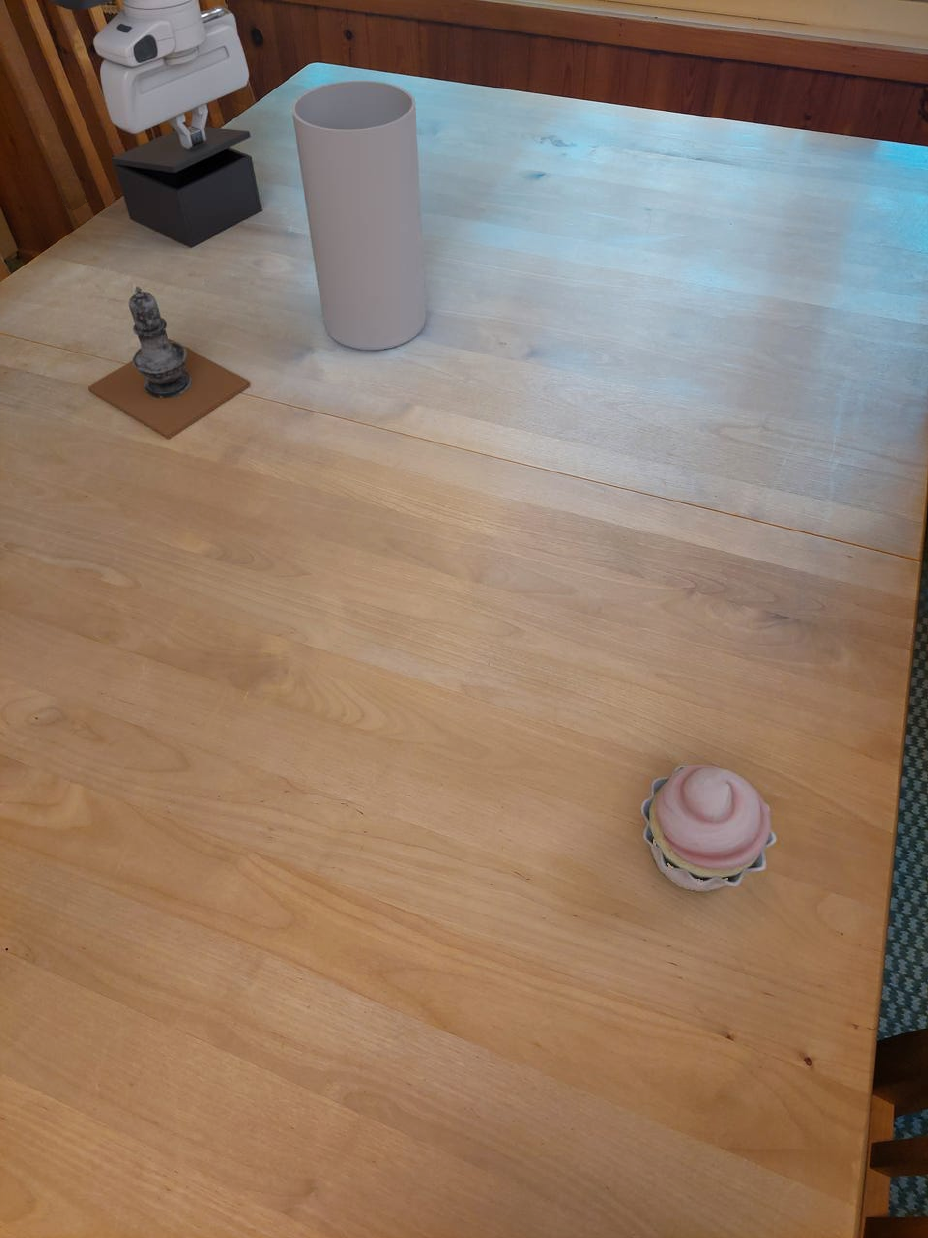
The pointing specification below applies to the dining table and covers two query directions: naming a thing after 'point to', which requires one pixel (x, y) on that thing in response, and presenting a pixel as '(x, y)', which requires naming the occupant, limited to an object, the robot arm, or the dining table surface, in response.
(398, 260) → the cylinder vase
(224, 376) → the cork mat
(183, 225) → the dark open-top box
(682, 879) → the cupcake
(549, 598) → the dining table surface
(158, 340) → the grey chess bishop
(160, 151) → the dark hinged lid
